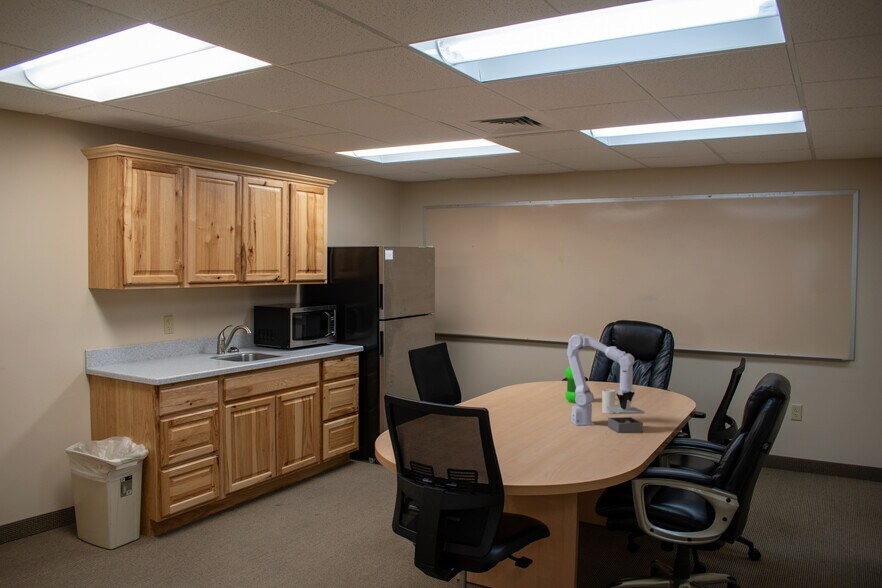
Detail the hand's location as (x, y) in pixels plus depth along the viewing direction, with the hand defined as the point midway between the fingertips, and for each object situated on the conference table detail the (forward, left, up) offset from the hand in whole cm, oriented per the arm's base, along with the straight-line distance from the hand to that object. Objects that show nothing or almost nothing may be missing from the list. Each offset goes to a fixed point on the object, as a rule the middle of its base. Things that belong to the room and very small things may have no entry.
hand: (625, 407), depth 310 cm
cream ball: (+3, +2, -8) cm, 9 cm away
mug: (+9, +36, -11) cm, 38 cm away
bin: (0, 0, -10) cm, 10 cm away
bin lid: (0, 0, -1) cm, 1 cm away
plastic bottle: (-1, +65, -11) cm, 66 cm away
